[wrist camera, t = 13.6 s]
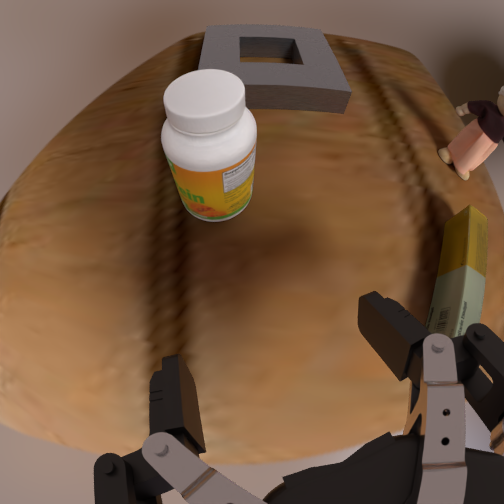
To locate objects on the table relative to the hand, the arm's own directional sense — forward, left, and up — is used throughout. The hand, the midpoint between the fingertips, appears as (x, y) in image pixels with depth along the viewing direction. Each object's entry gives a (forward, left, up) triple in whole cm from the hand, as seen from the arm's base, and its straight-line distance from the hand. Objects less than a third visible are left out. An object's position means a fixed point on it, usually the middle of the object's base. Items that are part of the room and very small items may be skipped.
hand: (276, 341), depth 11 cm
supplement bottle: (-3, +11, -6) cm, 13 cm away
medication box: (+15, +3, -7) cm, 17 cm away
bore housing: (+2, +27, -6) cm, 28 cm away
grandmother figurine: (+22, +15, -6) cm, 28 cm away
